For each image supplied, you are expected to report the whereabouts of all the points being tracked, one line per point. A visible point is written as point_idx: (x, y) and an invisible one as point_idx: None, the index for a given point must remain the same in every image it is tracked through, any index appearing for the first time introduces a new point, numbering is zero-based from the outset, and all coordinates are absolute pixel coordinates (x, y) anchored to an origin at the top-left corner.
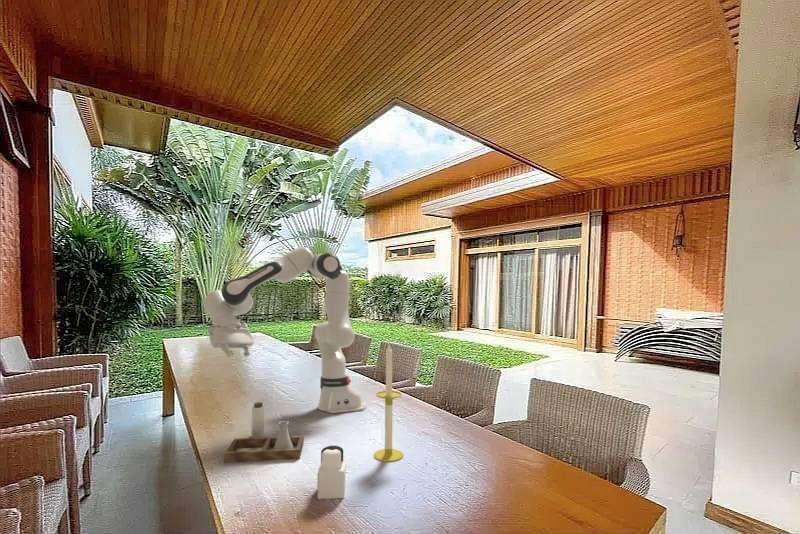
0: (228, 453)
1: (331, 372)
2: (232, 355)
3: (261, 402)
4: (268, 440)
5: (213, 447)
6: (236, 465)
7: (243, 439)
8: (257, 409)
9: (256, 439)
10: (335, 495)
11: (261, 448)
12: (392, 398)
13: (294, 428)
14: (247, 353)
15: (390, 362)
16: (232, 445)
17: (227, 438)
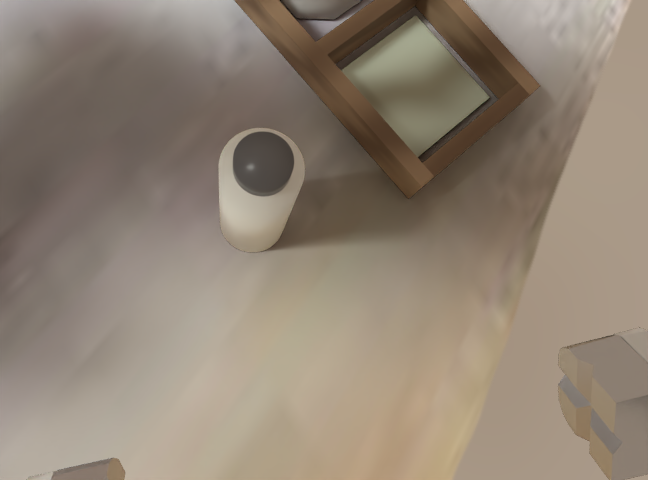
0: (528, 73)
1: None
2: (564, 360)
3: (233, 159)
4: (340, 31)
5: (466, 283)
6: None
7: (402, 140)
8: (291, 144)
9: (360, 93)
10: None
11: (351, 75)
12: None
13: (51, 141)
14: (107, 473)
15: None
16: (474, 125)
17: (362, 331)
